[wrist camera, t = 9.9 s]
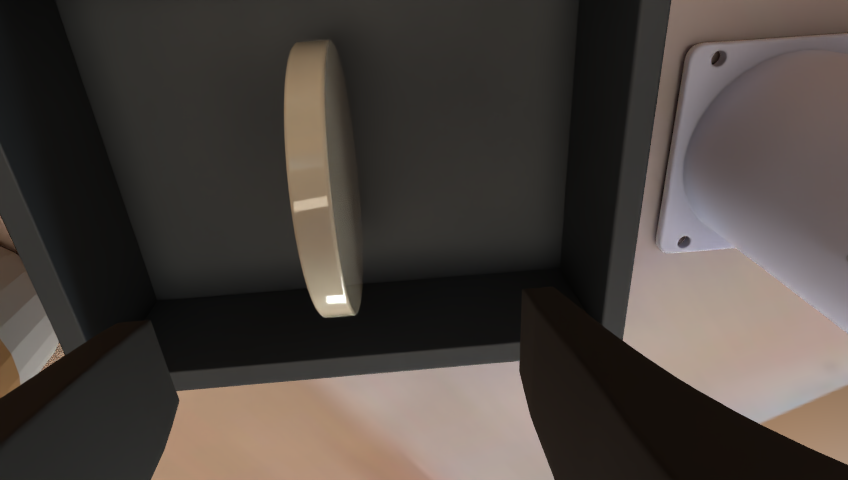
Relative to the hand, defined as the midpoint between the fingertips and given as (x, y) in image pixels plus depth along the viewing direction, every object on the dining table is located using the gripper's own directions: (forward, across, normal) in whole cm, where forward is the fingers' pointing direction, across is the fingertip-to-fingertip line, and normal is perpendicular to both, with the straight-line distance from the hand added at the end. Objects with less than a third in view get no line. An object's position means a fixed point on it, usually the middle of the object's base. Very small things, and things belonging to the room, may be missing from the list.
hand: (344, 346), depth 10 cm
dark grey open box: (+10, +1, -1) cm, 10 cm away
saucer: (+10, +1, -1) cm, 10 cm away
